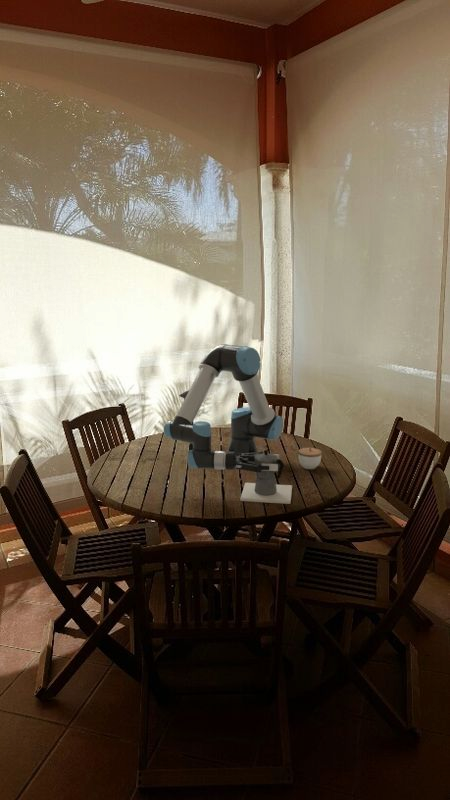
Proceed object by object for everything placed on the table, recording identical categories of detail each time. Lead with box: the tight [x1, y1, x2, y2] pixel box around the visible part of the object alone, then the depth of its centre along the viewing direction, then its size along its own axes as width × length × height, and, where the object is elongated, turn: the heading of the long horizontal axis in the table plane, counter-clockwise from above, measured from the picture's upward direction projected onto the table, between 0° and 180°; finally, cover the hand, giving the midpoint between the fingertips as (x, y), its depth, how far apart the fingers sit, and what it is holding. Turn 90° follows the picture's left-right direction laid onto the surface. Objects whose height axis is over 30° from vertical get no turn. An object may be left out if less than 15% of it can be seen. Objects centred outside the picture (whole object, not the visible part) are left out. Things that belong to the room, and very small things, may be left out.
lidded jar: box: [298, 447, 323, 470], centre depth 289 cm, size 11×11×9 cm
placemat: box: [239, 482, 293, 505], centre depth 256 cm, size 18×20×1 cm
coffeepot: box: [253, 449, 285, 496], centre depth 253 cm, size 15×9×18 cm, turn 50°
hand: (278, 462), depth 254 cm, fingers open, 12 cm apart
